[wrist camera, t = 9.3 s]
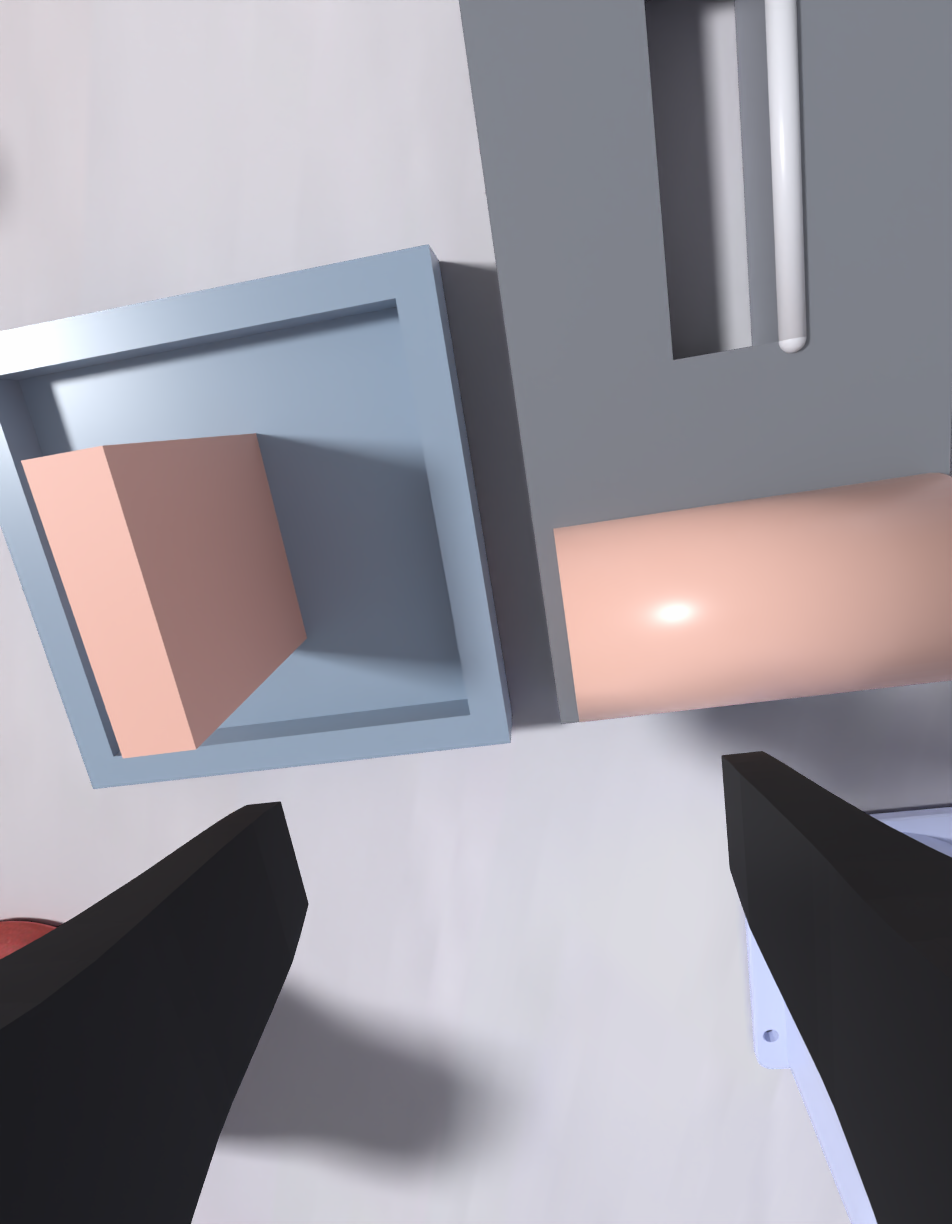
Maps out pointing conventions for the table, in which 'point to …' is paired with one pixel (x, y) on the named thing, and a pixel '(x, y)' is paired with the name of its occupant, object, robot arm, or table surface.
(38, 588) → the tray
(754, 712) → the table surface
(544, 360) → the slotted grey platform
